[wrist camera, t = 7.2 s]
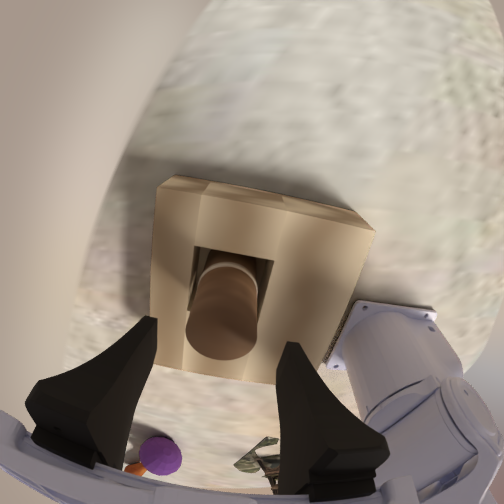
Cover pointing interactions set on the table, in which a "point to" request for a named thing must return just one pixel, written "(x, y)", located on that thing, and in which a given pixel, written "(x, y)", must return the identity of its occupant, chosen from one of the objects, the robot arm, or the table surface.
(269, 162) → the table surface
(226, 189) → the socket block
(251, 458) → the eiffel tower figurine
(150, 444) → the kendama
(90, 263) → the table surface
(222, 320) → the peg
